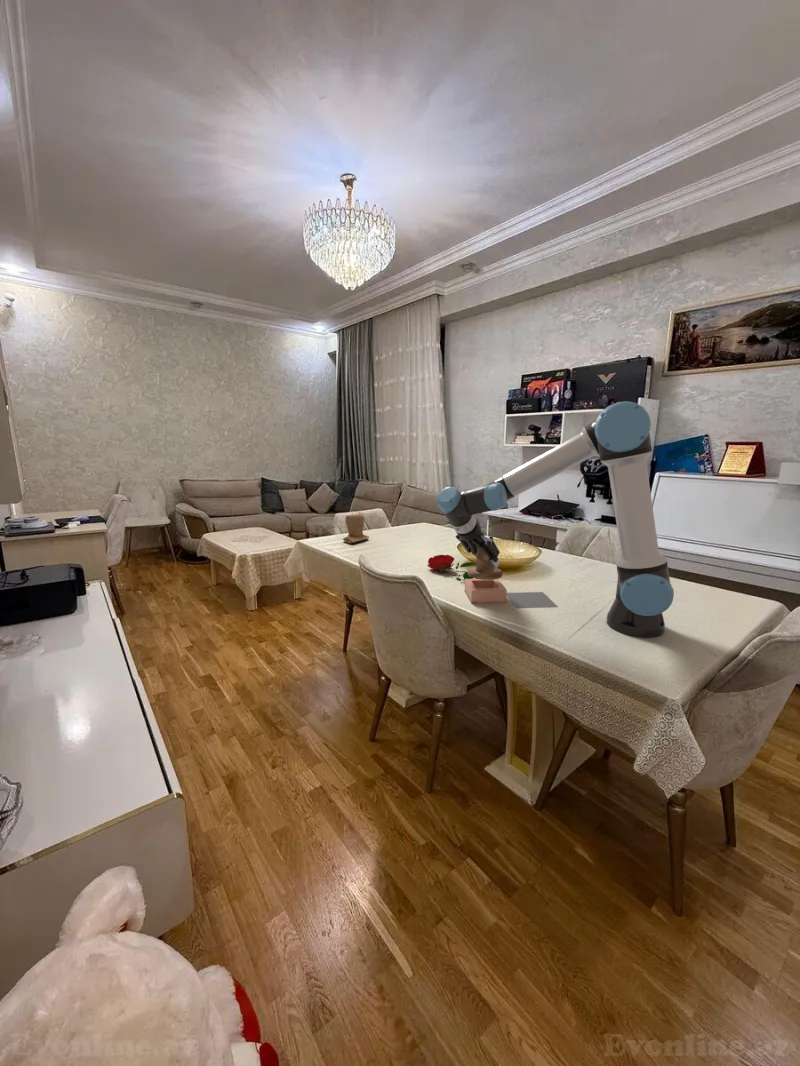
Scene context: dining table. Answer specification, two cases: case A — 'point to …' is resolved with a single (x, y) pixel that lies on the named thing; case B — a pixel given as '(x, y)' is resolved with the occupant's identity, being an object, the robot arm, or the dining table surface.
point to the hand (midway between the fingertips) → (490, 563)
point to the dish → (485, 591)
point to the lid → (484, 568)
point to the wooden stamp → (355, 528)
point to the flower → (447, 564)
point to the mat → (530, 600)
